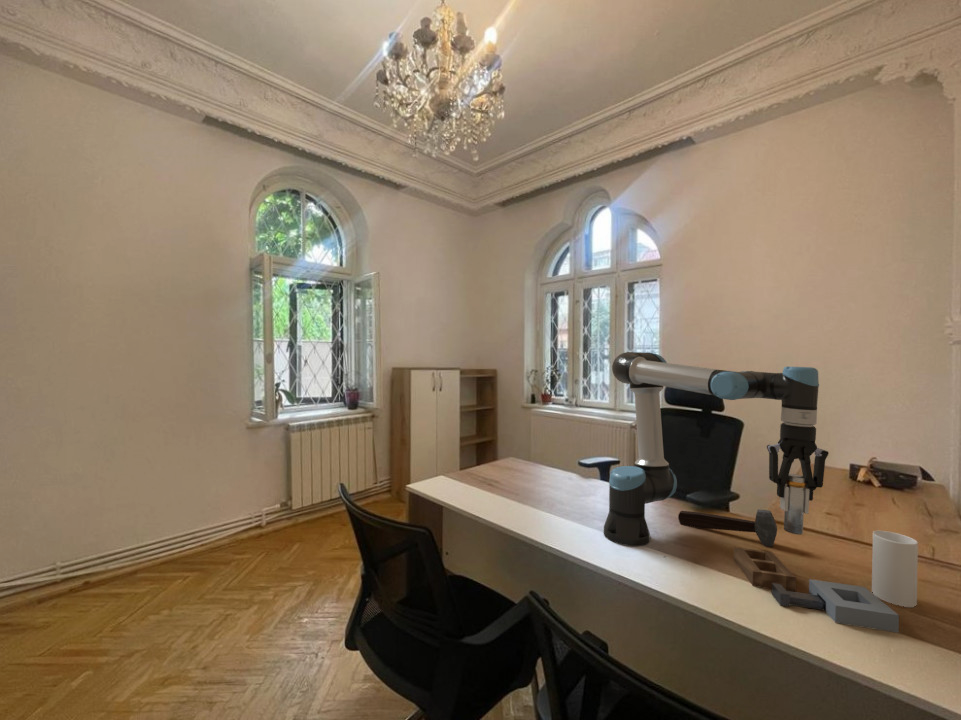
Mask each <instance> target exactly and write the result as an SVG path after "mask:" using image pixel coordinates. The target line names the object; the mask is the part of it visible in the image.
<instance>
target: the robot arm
mask: <svg viewBox="0 0 961 720" xmlns="http://www.w3.org/2000/svg"><path fill="white" fill-rule="evenodd" d="M611 371H612V374H613V376H614V378H615V379H616V380H617V381H618V382H620V383H623V384H629V390H630V391H631V392H633V394H634V404H635V422H636V435H637V436H636V439H637V451H638V458H637V459H636V460H635V461H634V466H633V465H622V466H617V467H614V468H613V469H612V470H611V471H610V475H609V479H608V482H609V483H608V484H609V485H608V486H609V487H608V488H609V490H608V491H609V493H608V494H609V500H608V501H609V502H608V505H609V509H608V514H607V516H606V520H605V523H604V524H603V537H604V536H605V538H606V539H607V540H609V541H612V542H613V543H616V544H619V545H622V546H628V547H630V546H631V547H641V546H643V547H644V546H646V545H647V544H649V543H650V542H651V541H650V540H651V537H650V536H651V534H650V530H649V527H648V524H647V519H646V515H645V514H646V512H645V511H646V504H650V503H654V502H655V503H656V502H659V501H660V502H661V501H665V500H667V499H669V498H671V497H672V496H673V495H675V493H676V491H677V488H678V487H677V486H678V481H677V480H678V479H677V476H676V475H675V473H674V472H673V470H672V469H671V468H670V463H669V462H668V461H667V460H666V459H665V455H664V454H665V453H664V442H663V427H662V414H661V411H662V410H661V397H660V393H661V391H662V390H663V389H664V387H666V388H671V389H675V390H676V389H677V390H683V391H686V392H687V391H689V392H694V393H699V394H705V395H711V396H715V397H718V399H721V400H728V401H729V400H730V401H736V400H742V399H745V400H746V399H747V400H748V399H767V400H775V401H781V407H780V408H781V412H780V421H781V423H780V426H779V427H780V430H779V437H780V438H779V440H778V442H777V443H775V444H772V445H771V444H767V445H766V449H767V452H768V462H769V463H768V469H769V470H768V478H769V480H770V481H771V482H772V483H774V484H776V495H777V497H779V509H781V510H782V511H784V512H785V511H788V496H789V487H788V486H786V482H787V478H788V475H789V474H790V472H791V469H792V464H793V463H794V462H795V460H799V462H800V467H801V472H802V473H801V474H802V476H804V477H805V482H806V487H805V496H804V514H806V515H807V514H809V509H810V508H809V507H810V506H809V505H810V501H811V502H812V501H813V500H814V491H815V490H816V489H817V488H823V486H824V479H825V477H824V476H825V467H826V459H827V458H828V456H829V453H830V452H829V451H827V450H825V449H823V448H819V447H818V446H817V444H816V439H817V428H816V426H815V425H817V420H818V418H817V417H818V398H819V388H820V384H819V381H820V380H819V371H818V369H817V368H815V367H811V366H809V367H808V366H785V367H783V369H782V372H767V371H766V372H764V371H753V370H745V371H744V370H742V371H741V370H740V371H734V370H733V371H732V370H725V369H716V368H709V367H708V368H707V367H700V366H692V365H685V364H684V365H683V364H679V363H678V364H677V363H668V362H667V360H666V358H664V357H663V356H661V355H660V354H657V353H653V352H649V351H648V352H635V351H626V352H623V353H620V354H619V355H617V356H616V357H615V358H614V360H613V362H612V365H611ZM780 451H781V452H782V453H783V454H782V461H781V465H780V467H779V452H780ZM813 454H814V462H813V470H812V467H811V466H812V465H811V456H812V455H813Z"/></svg>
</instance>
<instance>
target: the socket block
mask: <svg viewBox="0 0 961 720" xmlns="http://www.w3.org/2000/svg"><path fill="white" fill-rule="evenodd" d="M808 594H812V595H819V596H820V597H821V598H822V599H823V600H824V601H825V602H826V610H825V613H826V614H827V615H828V617H830V619H831V620H832V621H833V622H834V623H837V624H840V625H841V624H842V625H847V626H855V627H861V628H868V629H873V630H880V631H886V632H893V633H897V634H899V633H900V629H899V627H900V626H899V625H900V615H899V614H898V613H897V612H896V611H894V610H893V609H892V608H891V607H890V606H888V605H887V604H885V602H883V600H882V599H880V598H878V597H877V596H875V595H874V594H873V593H872V591H870V590H869V589H868V588H866V587H865V586H860V585H854V584H853V585H852V584H845V583H840V582H839V583H838V582H833V581H824V580H819V579H812V578H808Z"/></svg>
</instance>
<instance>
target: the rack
mask: <svg viewBox="0 0 961 720" xmlns="http://www.w3.org/2000/svg"><path fill="white" fill-rule="evenodd" d="M733 549H734V550H733V551H734V552H733V561H734V562H735V563H736V565H737V566H738V567H739V569H740V571H741V572H742V574H743V575H744V576H745V578H746V579H747V580H748V581H749V583H750V584H751V586H752V587H758V588H764V589H771V590H772V583H776V584H781V585H782V586H783V587H784V589H785V590H786V591H792V592H797V591H796V586H797V577H796V576H795V574H793V573H792V571H790V569H789V568H788V567H787V566H786V565H785V564H784V563H783V562H782V561H781V560H780V559H779V557H777V556H776V555H775V553H773V552H772V551H767V550H761V549H752V548H745V547H738V546H734V547H733Z"/></svg>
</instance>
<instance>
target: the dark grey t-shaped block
mask: <svg viewBox="0 0 961 720" xmlns="http://www.w3.org/2000/svg"><path fill="white" fill-rule="evenodd" d="M771 595H772V597H773V598H774V599H775V601H776V602H777V603H778V604H779V606H780V607H781V606H783V607H789V608H790V607H791V606H794V607H795V606H796V607H801V608H807V609H814V610H819V611H820V610H822V611H826V602H825V601H824V600H823V599H822V598H821V597H820V596H819V595H812V594H809V593H804V592H798V591H796V592H792V591H786V590H785V589H784V587H783V586H782V585H781V584H776V583H772V589H771Z"/></svg>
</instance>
